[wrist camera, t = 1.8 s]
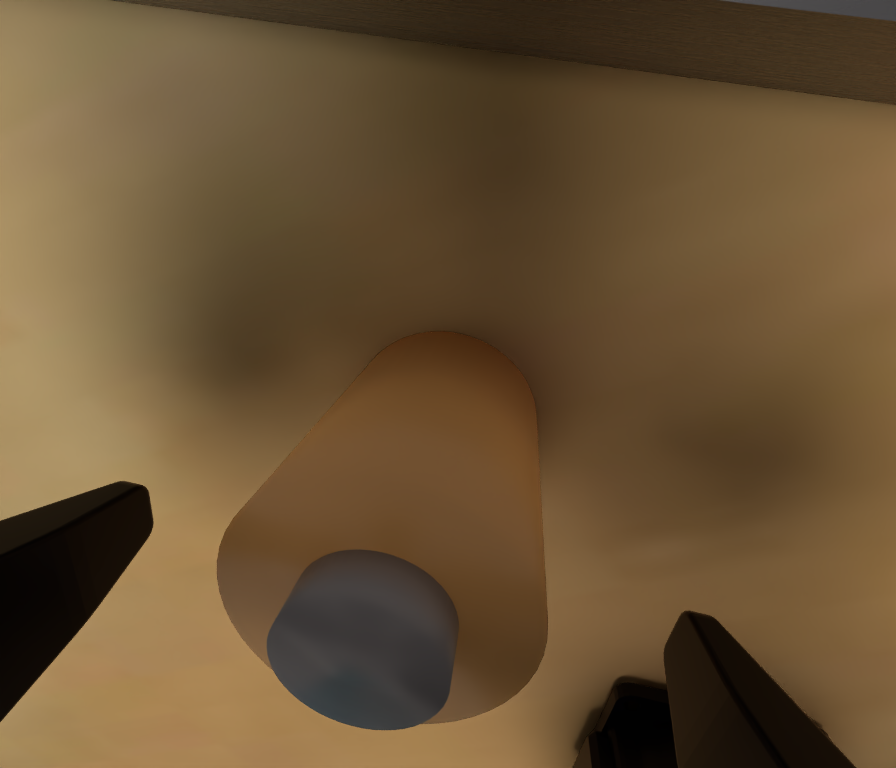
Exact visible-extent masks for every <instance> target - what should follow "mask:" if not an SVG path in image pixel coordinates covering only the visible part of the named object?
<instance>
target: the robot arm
mask: <svg viewBox="0 0 896 768" xmlns="http://www.w3.org/2000/svg"><path fill="white" fill-rule="evenodd" d="M152 528H153V515H152V509H151V503H150V496H149V492H148V490H147V488H146V487H145V486H143V485H140V484H135V483H131V482H126V481H119V482H115V483H112V484H109V485H106V486H103V487H100V488H97V489H94V490H91V491H88V492H85V493H82V494H79V495H76V496H73V497H70V498H67V499H64V500H61V501H58V502H55V503H52V504H49V505H46V506H43V507H40V508H37V509H34V510H31V511H28V512H25V513H22V514H19V515H16V516H13V517H10V518H7V519H4V520H1V521H0V722H1V721H2V720H3V719H4V717H5V716H6V715H7V714H8V713H9V712H10V710H11V709H12V708H13V707H14V706H15V705H16V703H17V702H18V701H19V700H20V699H21V698H22V697H23V695H24V694H25V693H26V692H27V691H28V690H29V688H30V687H31V686H32V685H33V684H34V683H35V681H36V680H37V679H38V678H39V677H40V676H41V675H42V673H43V672H44V671H45V670H46V669H47V668H48V666H49V665H50V664H51V663H52V662H53V661H54V659H55V658H56V657H57V656H58V655H59V654H60V653H61V651H62V650H63V649H64V648H65V647H66V646H67V644H68V643H69V642H70V641H71V640H72V639H73V637H74V636H75V635H76V634H77V633H78V632H79V630H80V629H81V628H82V627H83V626H84V624H85V623H86V622H87V621H88V619H89V618H90V617H91V615H92V614H93V613H94V612H95V610H96V609H97V608H98V606H99V605H100V604H101V602H102V601H103V600H104V598H105V597H106V595H107V594H108V593H109V591H110V590H111V589H112V587H113V586H114V584H115V583H116V582H117V580H118V579H119V577H120V576H121V575H122V573H123V572H124V571H125V569H126V568H127V566H128V565H129V564H130V562H131V561H132V560H133V558H134V557H135V555H136V554H137V553H138V551H139V550H140V549H141V547H142V546H143V544H144V543H145V542H146V540H147V539H148V537H149V536H150V534H151V532H152ZM664 666H665V673H666V681H667V689H668V691H664V690H660V689H656V688H652V687H648V686H643V685H639V684H635V683H621V684H619V685H617V686H616V687H615V688H614V689H613V691H612V693H611V695H610V698H609V700H608V702H607V704H606V706H605V708H604V710H603V713H602V715H601V717H600V719H599V721H598V723H597V725H596V727H595V730H593V731H592V732H591V733H590V734H589V735H588V736H587V737H586V739H585V742H584V744H583V746H582V748H581V750H580V752H579V755H578V757H577V759H576V761H575V763H574V766H573V768H856V767H855V766H854V765H853V764H852V763H851V761H850V760H849V759H848V758H847V757H846V756H845V755H844V754H843V753H842V752H841V751H840V750H839V749H838V748H837V747H836V746H835V745H834V743H833V742H832V741H831V740H830V738H829V736H828V734H827V733H826V732H825V731H824V730H822V729H820V728H818V727H817V725H816V724H815V723H814V722H813V721H812V720H811V719H810V718H809V717H808V716H807V715H806V714H805V713H804V712H803V711H802V710H801V708H800V707H799V706H798V705H797V704H796V703H795V702H794V701H793V700H792V699H791V698H790V697H789V696H788V695H787V694H786V693H785V692H784V690H783V689H782V688H781V687H780V686H779V685H778V684H777V683H776V682H775V681H774V680H773V679H772V678H771V677H770V676H769V675H768V674H767V672H766V671H765V670H764V669H763V668H762V667H761V666H760V665H759V664H758V663H757V662H756V661H755V660H754V659H753V658H752V657H751V655H750V654H749V653H748V652H747V651H746V650H745V649H744V648H743V647H742V646H741V645H740V644H739V643H738V642H737V641H736V640H735V639H734V637H733V636H732V635H731V634H730V633H729V632H728V631H727V630H726V629H725V628H724V627H723V626H722V625H721V624H720V623H719V622H718V621H717V620H716V619H715V618H714V617H712V616H710V615H706V614H702V613H697V612H693V611H684V612H683V613H681V615H680V616H679V618H678V620H677V622H676V624H675V626H674V628H673V630H672V632H671V634H670V636H669V638H668V640H667V642H666V645H665V648H664Z"/></svg>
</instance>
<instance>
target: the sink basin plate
mask: <svg viewBox="0 0 896 768" xmlns="http://www.w3.org/2000/svg"><path fill="white" fill-rule="evenodd" d="M114 1H121V2H129V3H136V4H144V5H151V6H159V7H166V8H174V9H181V10H189V11H197V12H204V13H212V14H219V15H227V16H234V17H242V18H249V19H257V20H264V21H272V22H279V23H287V24H294V25H302V26H309V27H317V28H324V29H332V30H339V31H347V32H354V33H362V34H369V35H377V36H384V37H392V38H399V39H407V40H414V41H422V42H429V43H437V44H444V45H452V46H459V47H467V48H475V49H482V50H490V51H497V52H505V53H512V54H520V55H527V56H535V57H542V58H550V59H557V60H565V61H572V62H580V63H587V64H595V65H602V66H610V67H617V68H625V69H632V70H640V71H647V72H655V73H662V74H670V75H677V76H685V77H692V78H700V79H707V80H715V81H722V82H730V83H738V84H745V85H753V86H760V87H768V88H775V89H783V90H790V91H798V92H805V93H813V94H820V95H828V96H835V97H843V98H850V99H858V100H865V101H873V102H880V103H888V104H895V105H896V0H114Z"/></svg>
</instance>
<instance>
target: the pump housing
mask: <svg viewBox="0 0 896 768" xmlns="http://www.w3.org/2000/svg"><path fill="white" fill-rule="evenodd" d="M217 580H218V585H219V591H220V595H221V598H222V601H223V604H224V607H225V609H226V611H227V613H228V616H229V618H230V620H231V622H232V624H233V625H234V627H235V628H236V630H237V631H238V633H239V634H240V636H241V637H242V639H243V640H244V641H245V642H246V644H247V645H248V646H249V647H250V648H251V650H252V651H253V652H254V653H255V654H256V655H257V656H258V657H259V658H260V659H261V660H262V661H263V662H264V663H265V664H266V665H267V666H268V667H270V668H271V669H272V670H273V671H274V672H275V674H276V676H277V677H278V679H279V680H280V681H281V683H282V684H283V685H284V686H285V687H286V688H287V689H288V690H289V691H290V692H291V693H292V694H293V695H294V696H295V697H296V698H297V699H299V700H300V701H301V702H302V703H304V704H305V705H307V706H308V707H310V708H311V709H313V710H315V711H316V712H318V713H320V714H322V715H324V716H326V717H328V718H331V719H333V720H336V721H338V722H341V723H344V724H348V725H351V726H355V727H360V728H365V729H372V730H397V729H405V728H409V727H413V726H416V725H419V724H434V723H445V722H452V721H458V720H462V719H466V718H470V717H474V716H477V715H479V714H482V713H485V712H487V711H490V710H492V709H494V708H496V707H498V706H499V705H501V704H503V703H505V702H506V701H508V700H509V699H510V698H512V697H513V696H514V695H516V694H517V693H518V692H519V691H520V690H521V689H522V688H523V687H524V686H525V685H526V684H527V683H528V682H529V681H530V679H531V678H532V676H533V675H534V673H535V672H536V671H537V669H538V667H539V664H540V662H541V660H542V658H543V656H544V651H545V647H546V643H547V634H548V615H547V597H546V578H545V560H544V541H543V522H542V504H541V485H540V467H539V448H538V429H537V414H536V406H535V402H534V398H533V395H532V392H531V390H530V388H529V385H528V383H527V382H526V380H525V378H524V377H523V375H522V373H521V372H520V371H519V370H518V368H517V367H516V366H515V365H514V364H513V363H512V362H511V361H510V360H509V359H508V358H507V357H506V356H505V355H504V354H502V353H501V352H500V351H498V350H497V349H495V348H494V347H492V346H491V345H489V344H487V343H485V342H483V341H481V340H478V339H476V338H473V337H471V336H467V335H463V334H459V333H453V332H445V331H431V332H424V333H418V334H414V335H411V336H407V337H405V338H402V339H400V340H398V341H396V342H394V343H392V344H391V345H389V346H387V347H386V348H385V349H384V350H382V351H381V352H380V353H379V354H377V356H376V357H375V358H374V359H373V360H372V361H371V362H370V363H369V364H368V366H367V367H366V368H365V369H364V370H363V371H362V372H361V374H360V375H359V376H358V377H357V378H356V379H355V380H354V382H353V383H352V384H351V385H350V386H349V387H348V388H347V390H346V391H345V392H344V393H343V394H342V395H341V396H340V397H339V399H338V400H337V401H336V402H335V403H334V404H333V405H332V407H331V408H330V409H329V410H328V411H327V412H326V413H325V415H324V416H323V417H322V418H321V419H320V420H319V421H318V423H317V424H316V425H315V426H314V427H313V428H312V429H311V430H310V432H309V433H308V434H307V435H306V436H305V437H304V438H303V440H302V441H301V442H300V443H299V444H298V445H297V446H296V448H295V449H294V450H293V451H292V452H291V453H290V454H289V455H288V457H287V458H286V459H285V460H284V461H283V462H282V463H281V465H280V466H279V467H278V468H277V469H276V470H275V471H274V473H273V474H272V475H271V476H270V477H269V478H268V479H267V481H266V482H265V483H264V484H263V485H262V486H261V487H260V488H259V490H258V491H257V492H256V493H255V494H254V495H253V496H252V498H251V499H250V500H249V501H248V502H247V503H246V504H245V506H244V507H243V508H242V509H241V510H240V511H239V512H238V514H237V515H236V516H235V517H234V518H233V520H232V521H231V523H230V525H229V526H228V528H227V529H226V531H225V533H224V536H223V539H222V541H221V544H220V547H219V553H218V558H217Z"/></svg>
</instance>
